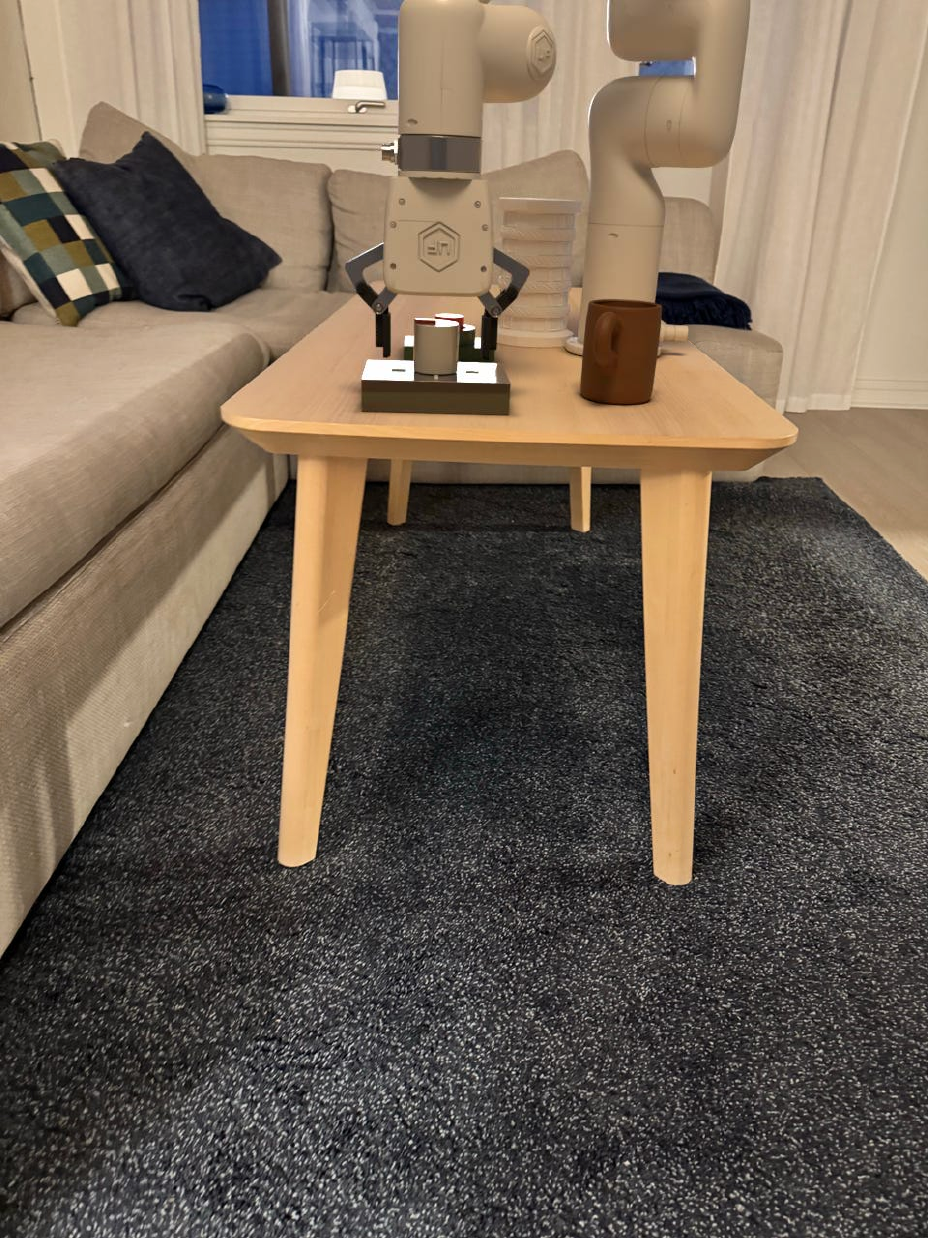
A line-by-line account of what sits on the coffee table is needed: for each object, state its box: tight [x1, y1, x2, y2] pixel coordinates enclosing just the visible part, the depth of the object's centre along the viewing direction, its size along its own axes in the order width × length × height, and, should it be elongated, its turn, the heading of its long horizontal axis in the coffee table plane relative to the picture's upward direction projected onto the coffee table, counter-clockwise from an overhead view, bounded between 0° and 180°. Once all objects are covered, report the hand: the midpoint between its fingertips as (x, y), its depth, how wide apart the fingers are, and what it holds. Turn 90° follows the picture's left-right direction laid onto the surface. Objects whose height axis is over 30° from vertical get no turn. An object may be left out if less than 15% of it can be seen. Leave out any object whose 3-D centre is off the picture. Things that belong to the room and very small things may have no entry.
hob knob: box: [412, 318, 459, 375], centre depth 88 cm, size 4×4×5 cm
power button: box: [434, 313, 465, 329], centre depth 112 cm, size 4×4×2 cm
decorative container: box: [497, 197, 583, 348], centre depth 123 cm, size 12×12×18 cm
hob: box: [360, 359, 512, 416], centre depth 90 cm, size 14×10×3 cm
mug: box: [579, 299, 663, 405], centre depth 91 cm, size 12×8×9 cm, turn 156°
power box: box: [403, 324, 496, 363], centre depth 113 cm, size 11×8×4 cm
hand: (435, 356), depth 89 cm, fingers open, 9 cm apart
